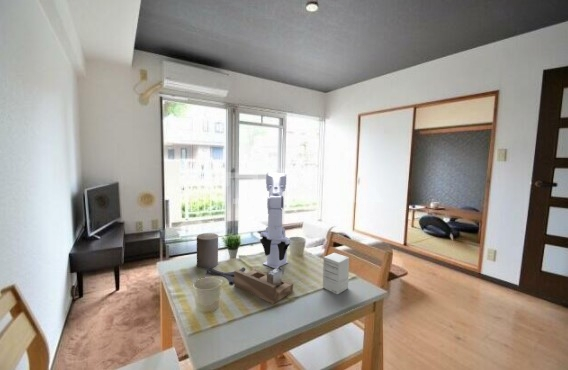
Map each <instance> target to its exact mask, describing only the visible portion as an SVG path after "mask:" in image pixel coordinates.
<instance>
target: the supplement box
mask: <svg viewBox="0 0 568 370" xmlns="http://www.w3.org/2000/svg"><path fill="white" fill-rule="evenodd" d="M322 264H323V266H322V267H323V269H322V270H323V271H322V288H323V289H325V290H327V291H330V292H331V293H333V294H336V295H340V294H341V293H342V292H344V291H346V290H347V289H349V271H350V257H348V256H346V255H342V254H339V253H337V252H332V253H331V254H328V255H326V256H323V263H322Z"/></svg>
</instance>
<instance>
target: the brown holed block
mask: <svg viewBox="0 0 568 370" xmlns="http://www.w3.org/2000/svg"><path fill="white" fill-rule="evenodd" d="M239 270H240V269H236V270H234V271H233V272H234V277H233V278H234V284H233V285H234V286H235V287H236V288H238V289H241V290H242V291H245V292H247V293H248V294H252V295H253V296H255V297H257V298H259V299H261V300H264V301H266V302H268V303H270V304H272V305H273V304H275V303H277V302H279V301H281V299H284V298H285V297H286V296H288V295H289V294H291V293H294V283H293V282H289V281H286V280H284V279H282V285H281V286H279V287H277V288H276V286H275V285H273V284H270V283H268V282H267V273H268V272H267V273H266V272H263V271H262V270H259V269H257V268H255V269H253V270H250V271H248V272H245V271H244V272H242V271H239Z"/></svg>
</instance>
